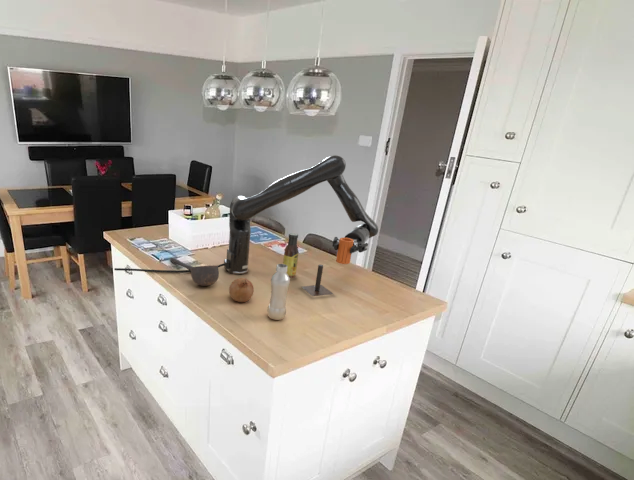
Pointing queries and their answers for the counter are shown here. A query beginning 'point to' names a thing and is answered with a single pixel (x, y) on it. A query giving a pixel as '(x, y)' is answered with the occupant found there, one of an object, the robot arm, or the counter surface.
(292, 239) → the sauce bottle
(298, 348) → the counter surface
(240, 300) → the onion
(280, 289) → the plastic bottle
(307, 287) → the stand
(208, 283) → the ladle
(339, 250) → the orange grooved tube
